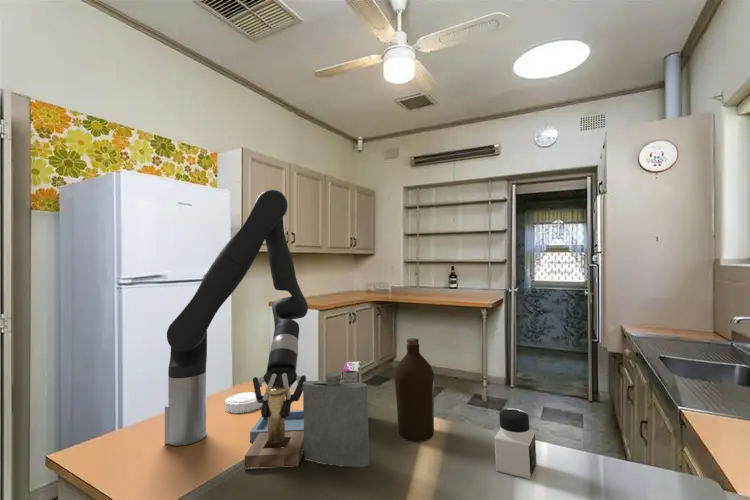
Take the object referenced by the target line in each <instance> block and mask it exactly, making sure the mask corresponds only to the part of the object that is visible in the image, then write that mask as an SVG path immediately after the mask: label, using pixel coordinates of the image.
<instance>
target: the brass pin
mask: <svg viewBox="0 0 750 500" xmlns="http://www.w3.org/2000/svg"><path fill="white" fill-rule="evenodd" d="M266 388H267V387H266ZM266 388H265V392H266V394H267V395H268V442H270V443H279V442H282V441H284V440H285V419H283V408H284V401H285V400H286V397H285V393H286V387H285V386H273V387H269V388H267V389H266Z"/></svg>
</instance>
